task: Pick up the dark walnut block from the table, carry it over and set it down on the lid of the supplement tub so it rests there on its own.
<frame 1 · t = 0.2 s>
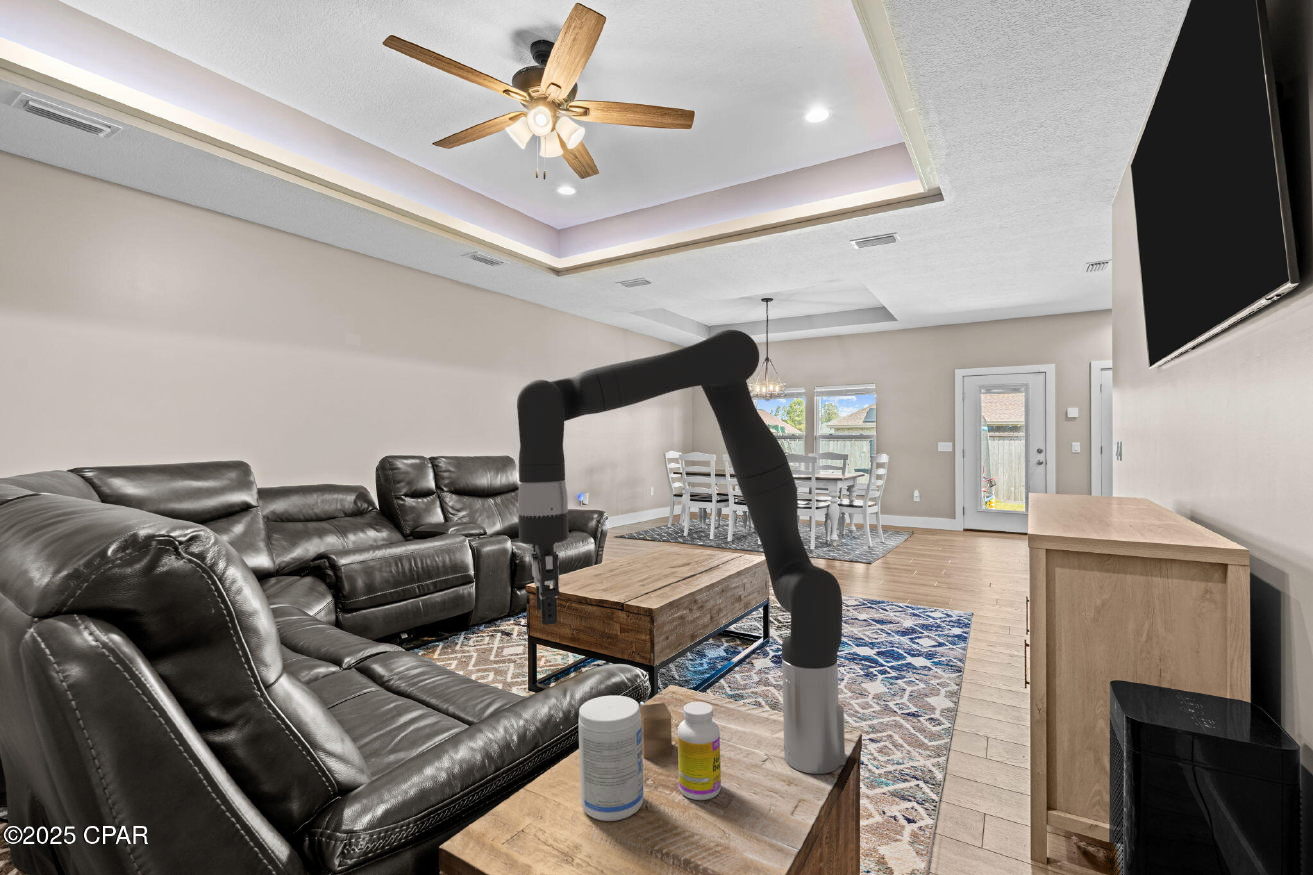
hand: (546, 615, 92), 29 cm above the table, tool pointing down, fingers open, 8 cm apart
walnut block: (654, 749, 106), on the table
supplement bottle: (700, 790, 94), on the table
supplement tub: (612, 805, 90), on the table
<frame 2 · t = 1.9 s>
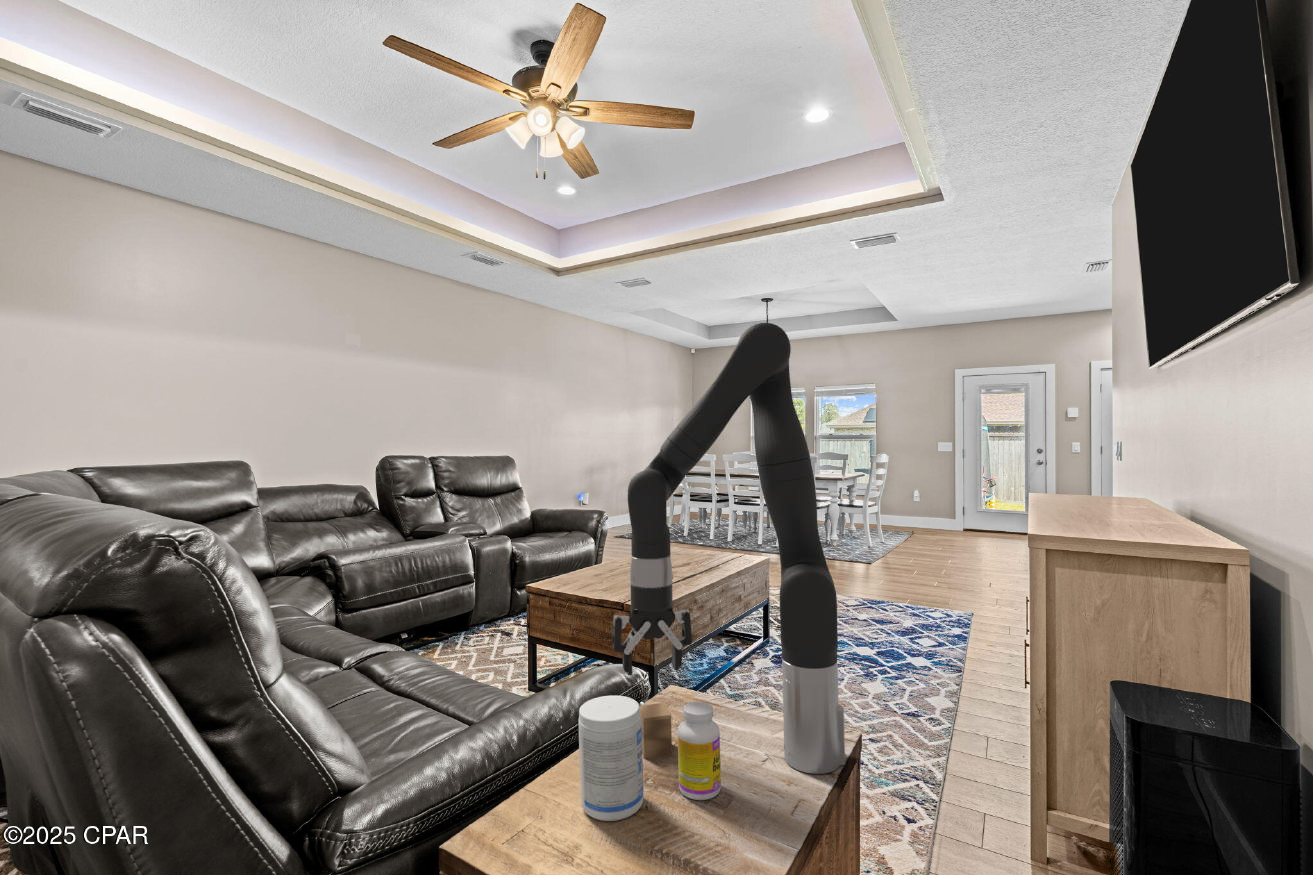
hand: (652, 671, 107), 14 cm above the table, tool pointing down, fingers open, 8 cm apart
nothing on the table moved.
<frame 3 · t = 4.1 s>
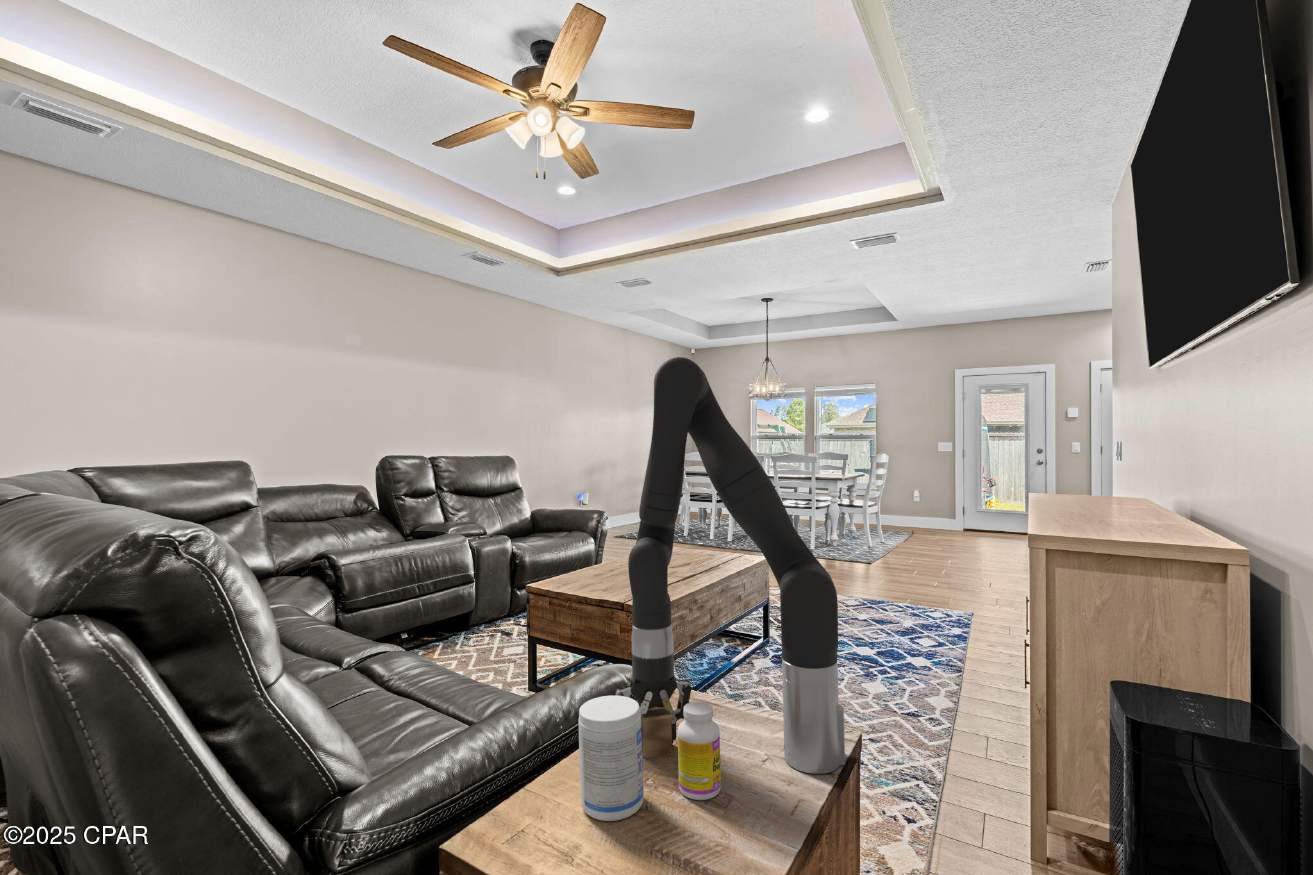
hand: (654, 743, 106), 1 cm above the table, tool pointing down, fingers closed on walnut block, 5 cm apart
walnut block: (655, 749, 106), on the table, touching gripper
everything else where it was.
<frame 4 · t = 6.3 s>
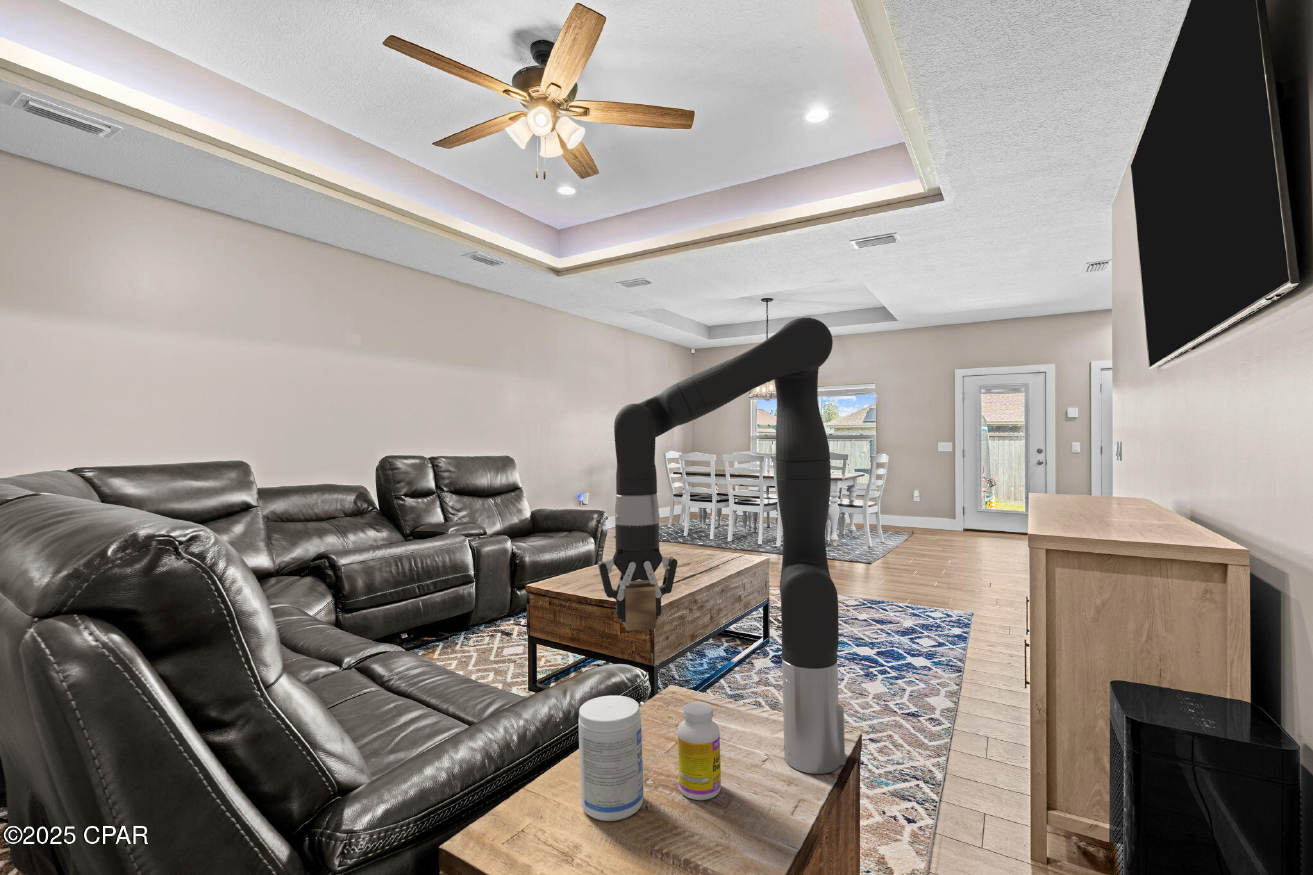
hand: (638, 619, 102), 25 cm above the table, tool pointing down, fingers closed on walnut block, 5 cm apart
walnut block: (638, 624, 102), point 24 cm above the table, touching gripper
everything else where it was.
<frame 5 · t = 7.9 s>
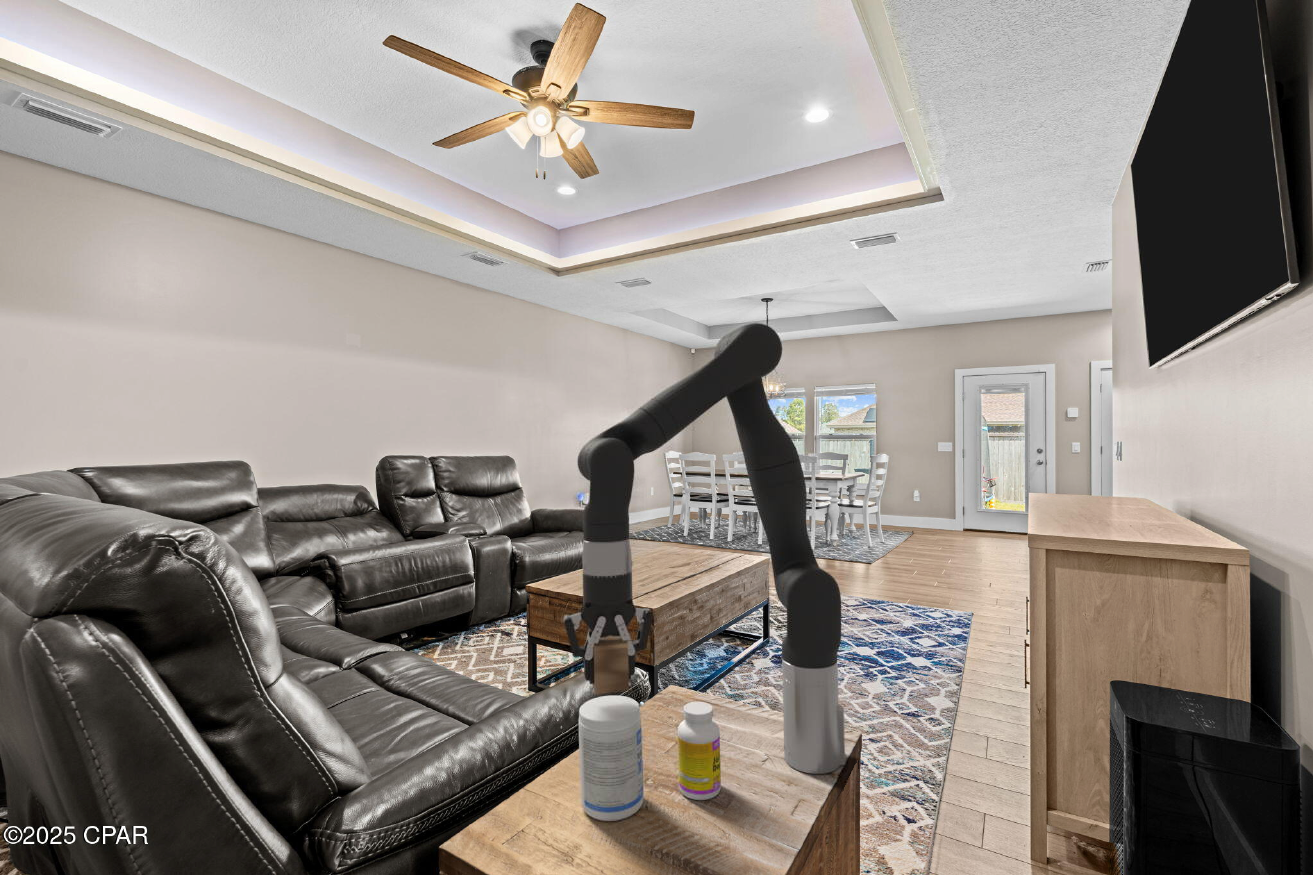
hand: (609, 679, 91), 19 cm above the table, tool pointing down, fingers closed on walnut block, 5 cm apart
walnut block: (609, 685, 91), point 18 cm above the table, touching gripper
everything else where it was.
when the fingers open (17 cm above the table, at t = 9.0 s): walnut block drops 2 cm, resting on supplement tub.
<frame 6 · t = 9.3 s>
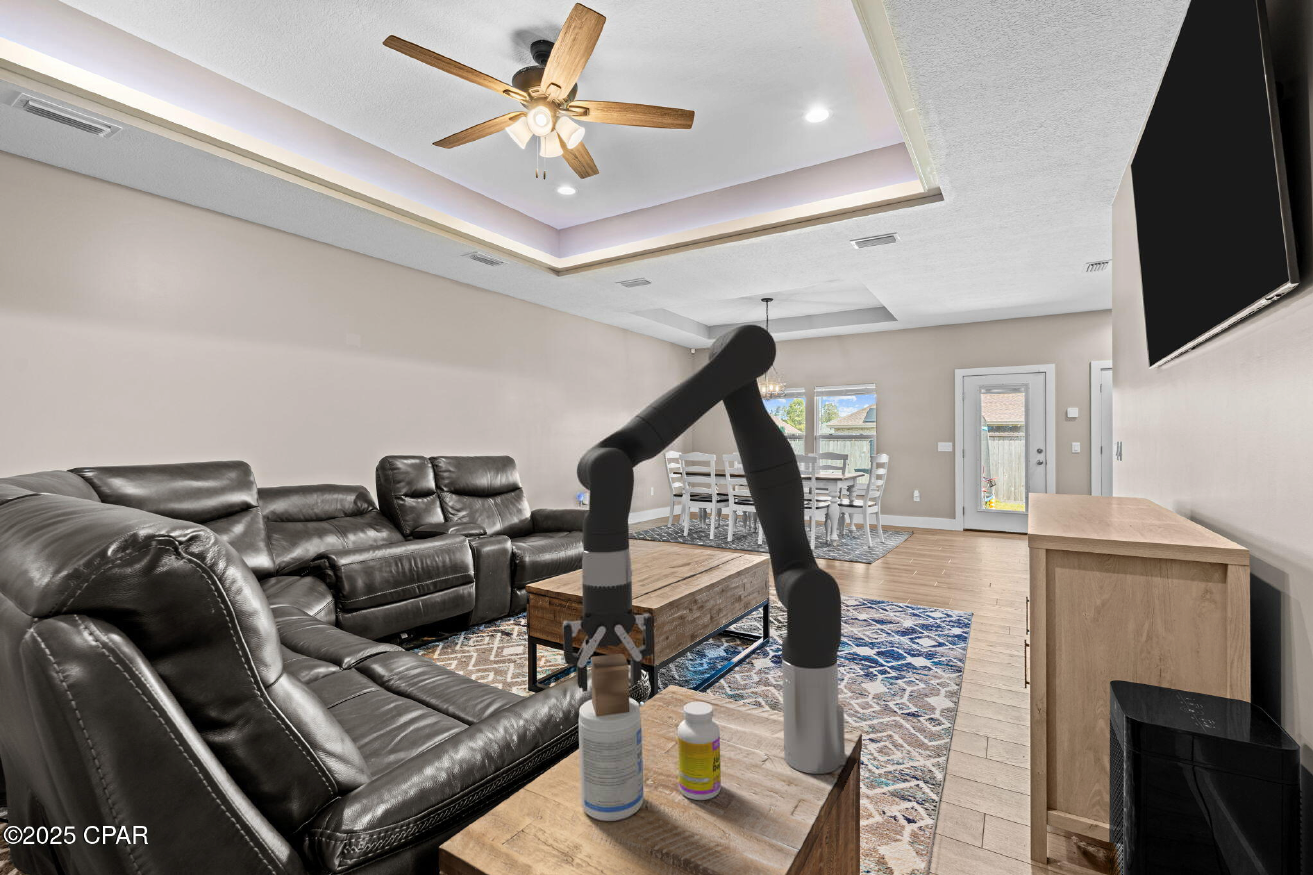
hand: (609, 686, 91), 18 cm above the table, tool pointing down, fingers open, 7 cm apart
walnut block: (610, 706, 91), point 15 cm above the table, touching supplement tub
supplement tub: (612, 805, 90), on the table, touching walnut block
everything else where it was.
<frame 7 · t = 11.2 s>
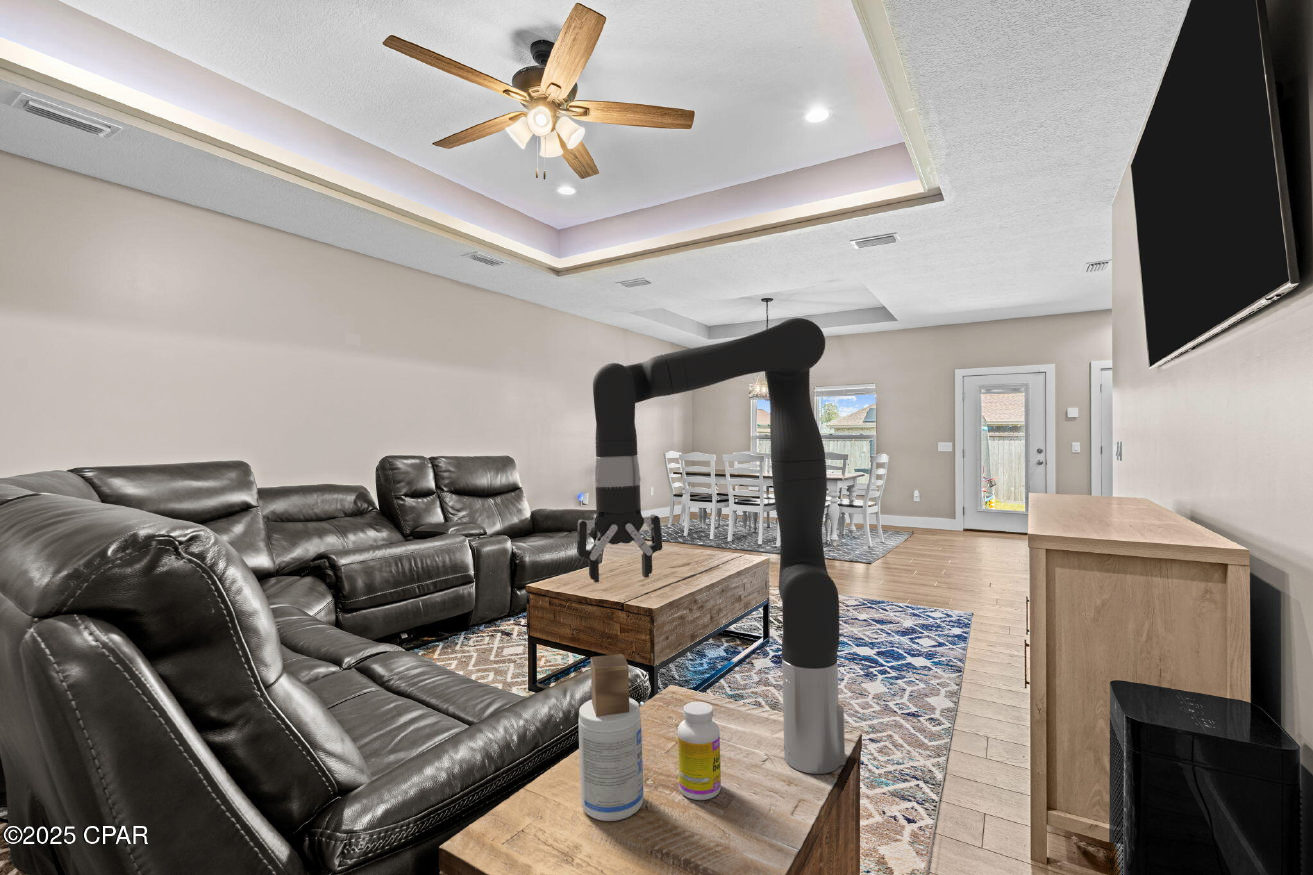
hand: (621, 579, 100), 32 cm above the table, tool pointing down, fingers open, 8 cm apart
nothing on the table moved.
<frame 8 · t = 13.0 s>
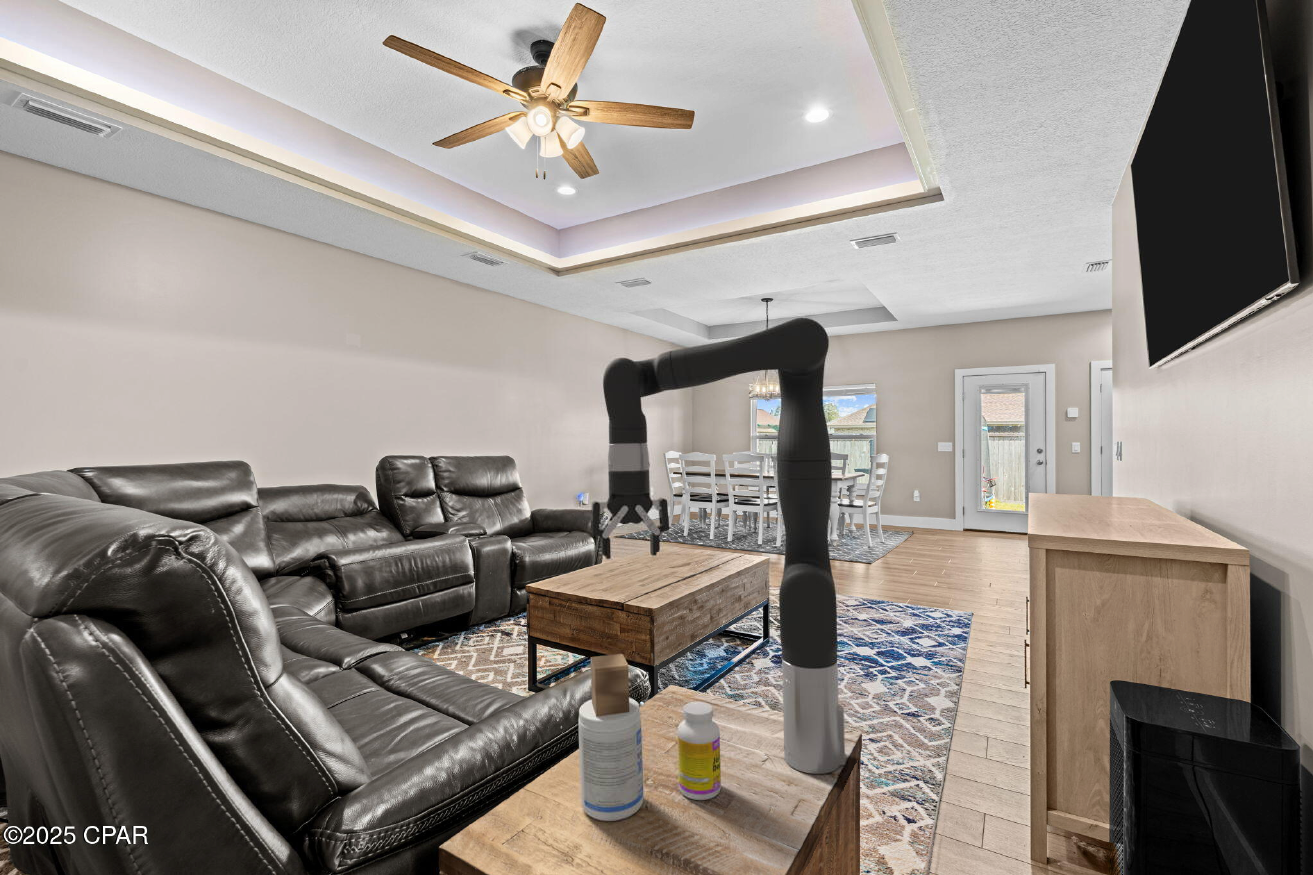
hand: (630, 556, 109), 34 cm above the table, tool pointing down, fingers open, 8 cm apart
nothing on the table moved.
at the end: walnut block inside the target area on the supplement tub (0.0 cm from its centre), point 14.9 cm above the supplement tub's base; walnut block tilted 0°; the gripper is holding nothing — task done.
